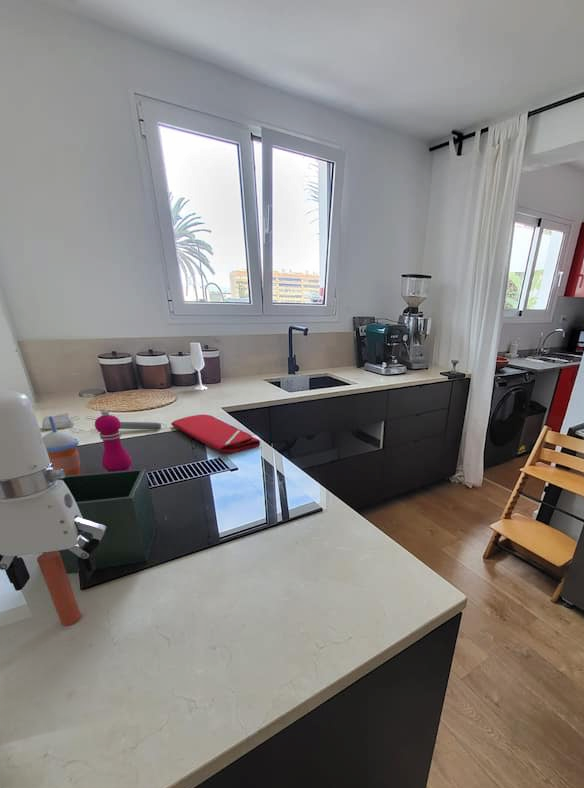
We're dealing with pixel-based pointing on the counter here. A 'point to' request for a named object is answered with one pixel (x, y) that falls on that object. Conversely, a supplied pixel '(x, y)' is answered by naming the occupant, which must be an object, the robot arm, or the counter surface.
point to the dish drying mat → (216, 433)
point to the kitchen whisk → (130, 425)
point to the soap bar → (57, 421)
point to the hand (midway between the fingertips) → (56, 579)
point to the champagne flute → (197, 362)
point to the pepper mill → (112, 443)
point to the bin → (114, 516)
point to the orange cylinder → (59, 587)
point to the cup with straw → (62, 450)
